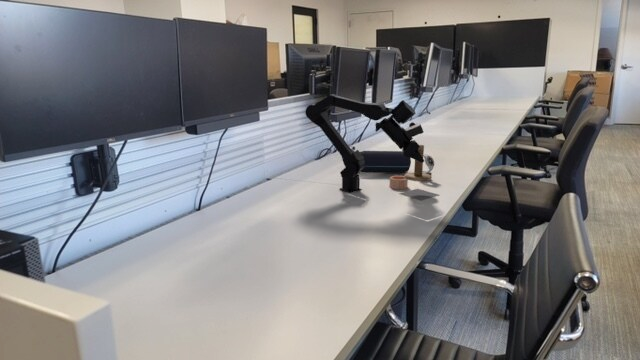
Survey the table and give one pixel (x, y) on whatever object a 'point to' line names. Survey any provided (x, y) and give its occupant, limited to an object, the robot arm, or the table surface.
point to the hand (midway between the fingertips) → (422, 160)
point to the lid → (418, 170)
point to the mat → (419, 194)
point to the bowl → (398, 182)
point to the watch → (428, 163)
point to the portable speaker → (385, 162)
